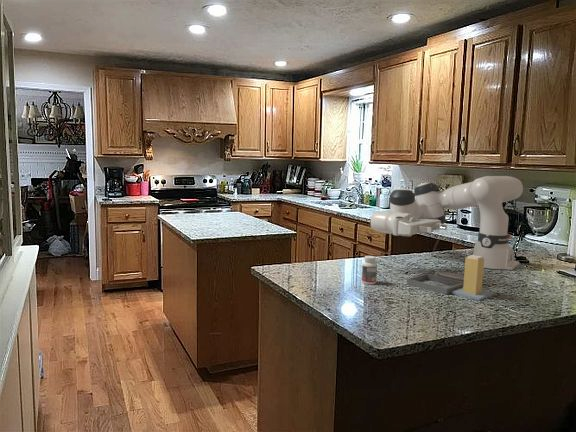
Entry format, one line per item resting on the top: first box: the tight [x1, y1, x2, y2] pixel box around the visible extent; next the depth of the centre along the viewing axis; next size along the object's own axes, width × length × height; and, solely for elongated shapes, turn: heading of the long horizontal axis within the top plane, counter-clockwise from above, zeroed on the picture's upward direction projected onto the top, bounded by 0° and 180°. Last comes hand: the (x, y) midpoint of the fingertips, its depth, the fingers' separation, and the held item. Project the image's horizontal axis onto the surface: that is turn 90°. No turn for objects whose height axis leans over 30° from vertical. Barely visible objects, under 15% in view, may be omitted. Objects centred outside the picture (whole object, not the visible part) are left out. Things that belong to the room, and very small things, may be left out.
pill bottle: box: [361, 255, 378, 285], centre depth 175 cm, size 5×5×10 cm
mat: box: [450, 287, 494, 302], centre depth 164 cm, size 10×10×1 cm
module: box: [463, 254, 485, 295], centre depth 163 cm, size 4×4×13 cm
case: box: [406, 270, 464, 295], centre depth 177 cm, size 26×16×2 cm, turn 132°
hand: (439, 228), depth 171 cm, fingers open, 8 cm apart
